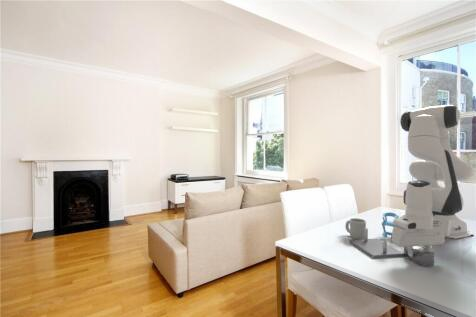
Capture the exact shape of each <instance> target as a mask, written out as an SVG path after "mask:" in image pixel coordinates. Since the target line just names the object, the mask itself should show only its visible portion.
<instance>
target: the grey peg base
mask: <svg viewBox="0 0 476 317" xmlns="http://www.w3.org/2000/svg"><path fill="white" fill-rule="evenodd" d="M368 237H369V229H368V228H367V227H366V228H364V239H357V240H356V239H349V243H350V244H351V245H352V246H354V247H356V248H357V249H358V250H360V251H362V252H363V253H364V254H366V255H368V256H370V258H372V259H383V258H398V257H400V258H401V257H404V251H403V252H402V251H400V250H399V249H397V248H395V247H394V246H391V245H389V244H388V237H387V238H385V237H382V240H380V239H378V238H368Z"/></svg>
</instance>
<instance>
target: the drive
mask: <svg viewBox="0 0 476 317" xmlns="http://www.w3.org/2000/svg"><path fill="white" fill-rule="evenodd" d="M412 251H413V252H415V257H410V256H409V255H408V250H407V249H406V247H403V253H404V256H403V257H405V258H406V259H409V260H410V261H412V262H414V263H415V264H418V265H419V266H421V267H423V268H426V267H434V266H435V253H434V252H432V251H431V250H430V251H428V250H426V249H424V248H423V246H413V249H412Z"/></svg>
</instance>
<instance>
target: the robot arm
mask: <svg viewBox="0 0 476 317" xmlns="http://www.w3.org/2000/svg"><path fill="white" fill-rule="evenodd" d="M399 120H400V121H399V122H400V123H399V125H400V126H401V129H402V130H403V131H404V132H408V135H407V150H408V152H409V153H410V154H411V155H412V156H413V157H414V158H416V159H418V160H414V161H412V162H411V163H410V165H409V166H408V172H409V174H410V175H411V176H412V178H414V179H415V180H414V179H413V180H410V181H408V182H407V183H406V184H407V185H406V189H405V190H404V191H403V203H404V205H405V207H406V208H405V211H404V212H405V214H404V215H401V216H399V217H398V218H397V219H395V218H394V219H393V220H392V222H393V224H394V225H396V226H394V227H392V232H391V233H392V234H391V235H392V239H391V241H392V244H394V245H395V246H397V247H399V248H404V247H406V249H407V250H408V255H409V256H410V257H415V252H413V251H412V249H413V246H420V247H423V246H424V249H426V250H428V251H431V249H432V248H433V247H432V246H436V245H437V246H439V245H440V246H441V245H444V243H445V242H446V238H449V239H460V238H461V239H462V238H466V237H472V236H471V235H473V236H474V234H475V233H473V232H472V231H470V230H468V226H467V223H466V222H465V220H463V219H462V218H460V217H459V216H458V215H456V214H458V213H459V212H462V211H463V208H464V198H463V196H462V194H461V191H460V189H459V188H460V187H459V184H458V182H467V181H468V180H469V179H470V178H471V177H472V175H473V173H474V172H473V171H474V170H473V167H472V165H471V164H470V163H469V162H467V161H465V160H464V159H462V158H460V157H458V156H457V155H456V154H455V153H454V151H453V149H452V147H451V142H450V135H449V134H450V133H449V129H451V128H455V126H458V124H459V122H460V120H461V111H460V110H459V109H458V107H457V106H456V105H453V104H445V105H435V106H428V107H424V108H418V109H414V110H408V111H405V112H403V113H402V114H401V117H400V119H399ZM438 181H442V182H444V183H443V184H444V186H441V184H439V183H438Z"/></svg>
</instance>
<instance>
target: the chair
mask: <svg viewBox="0 0 476 317" xmlns="http://www.w3.org/2000/svg"><path fill="white" fill-rule="evenodd" d="M388 217H393V218H394V219H397V218H399V217H400V216H399V215H398V214H396V213H394V212H385V213H382V222H381V225H382V229H383V230H382V233H383V236H384V238H387V239H388V235H390V240H392V232H391V231H387V230H386V226H388V227H392V228H393V227H394V226H396V225H394V224H393V221H392V220H388Z"/></svg>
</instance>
